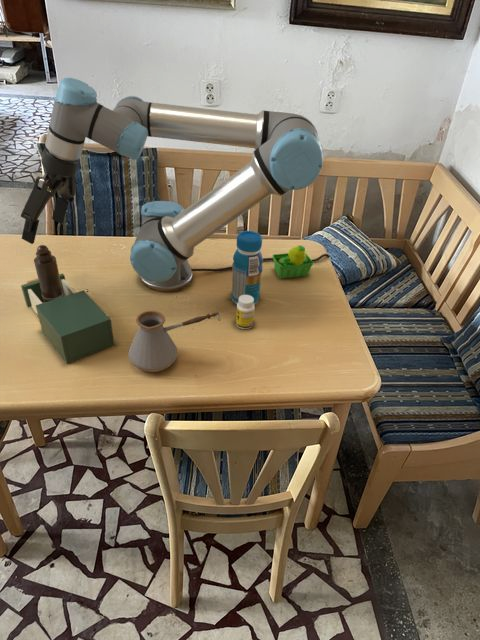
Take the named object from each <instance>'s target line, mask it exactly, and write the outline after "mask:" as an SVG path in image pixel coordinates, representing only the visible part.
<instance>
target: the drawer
mask: <svg viewBox="0 0 480 640" xmlns="http://www.w3.org/2000/svg"><path fill="white" fill-rule="evenodd" d="M59 276H60V280H61V285H62V290H63V295H64V296H67V295H70V294H73V293H77V292H78V291H76V290H75V289H74V288H73V287H72V286H71V285H70V284H69V282H68V281H67V280H66V277H65V274H64V273H59ZM20 288H21V292H22V295H23V298H24V302H25V306H26V307H27V308H32V310H33V311H34V312H35V313H36V315H37V316H38V313H37V309H36V305H38V304H42V303H44V301H43V297H42V293H41V288H40V284H39V280H38V277H37V278H34V279H30V280H27V281H26V283H23V284H21V285H20Z"/></svg>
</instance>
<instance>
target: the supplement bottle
mask: <svg viewBox="0 0 480 640" xmlns="http://www.w3.org/2000/svg"><path fill="white" fill-rule="evenodd" d="M255 310H256V309H255V304H254V298H253V297H252V296H250V295H241V296H240V297H239V300H238V304H236V312H235V313H236V314H235V325H236V327H237V328H238V329H242V330H249V329H251V328H252V327H253V326H254V320H255V319H254V318H255Z"/></svg>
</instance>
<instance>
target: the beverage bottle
mask: <svg viewBox="0 0 480 640" xmlns="http://www.w3.org/2000/svg"><path fill="white" fill-rule="evenodd" d="M262 246H263V236H262V234H260V233H259V232H257V231H254V230H244V231H243V230H242V231H240V232H239V233H238V234H237V236H236V250H235V251H234V254H233V256H232V260H233V261H232V264H231V266H232V269H231V271H232V278H231V279H232V281H231V292H230V298H231V301H232V302H233V303H234V304H236V305H237V304H238V300H239V297H240V296H241V295H250V296H252V297H253V298H254V305H256V304H257V303H258V302H259V300H260V289H261V280H262V274H263V269H264V267H263V262H264V261H263V258H264V257H263V253H262V252H261V249H262Z"/></svg>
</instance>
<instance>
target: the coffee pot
mask: <svg viewBox="0 0 480 640" xmlns="http://www.w3.org/2000/svg"><path fill="white" fill-rule="evenodd" d="M214 317H216V318H217V320H218V321H219V322H220V321H221V315H220V313H219V312H217V311H216V312H212V313H207V314H206V315H199V316H196V317H193V318H190V319H188V320H185V321H182V322H180V323H177V324H172V325H169V326H164V324H165V322H166V317H165V315H164V314H163V313H162V312H160V311H157V310H146V311H143V312H141V313H139V314H138V315H137V316H136V318H135V322H136V324H137V326H139V327H138V329H137V331H136V333H135V335H134V338H133V340H132V342H131V344H130V347H129V350H128V353H127V354H128V359H129V361H130V363H131V364H132V365H133V366H134V367H135V368H137V369H138V370H140V371H144V372H147V373H158V372H161V371H163V370H166V369H167V368H169V367H171V365H173V364H174V362H175V361H176V359H177V357H178V353H179V352H178V347H177V346H176V344H175V343H174V341H173V339H172V337H171V336H170V334H169V333H168V332H170V331H171V330H174V329H178V328H181V327H185V326H188V325H189V326H190V325H194V324H197V323H201V322H203V321H205V320H210V319H211V318H214Z"/></svg>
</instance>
